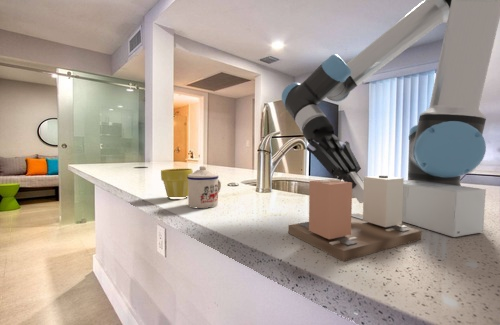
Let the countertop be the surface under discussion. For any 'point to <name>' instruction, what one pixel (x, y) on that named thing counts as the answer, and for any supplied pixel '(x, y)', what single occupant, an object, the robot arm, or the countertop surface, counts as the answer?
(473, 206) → the supplement box
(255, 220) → the countertop surface
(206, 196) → the teacup with lid
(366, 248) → the walnut track board
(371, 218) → the tall white pillar
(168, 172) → the plant pot
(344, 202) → the tall salmon pillar
